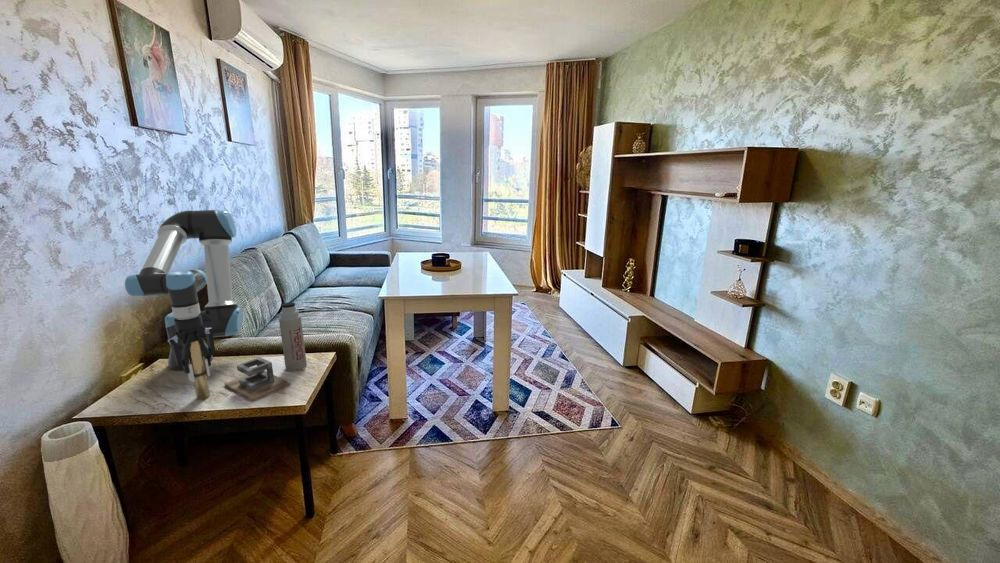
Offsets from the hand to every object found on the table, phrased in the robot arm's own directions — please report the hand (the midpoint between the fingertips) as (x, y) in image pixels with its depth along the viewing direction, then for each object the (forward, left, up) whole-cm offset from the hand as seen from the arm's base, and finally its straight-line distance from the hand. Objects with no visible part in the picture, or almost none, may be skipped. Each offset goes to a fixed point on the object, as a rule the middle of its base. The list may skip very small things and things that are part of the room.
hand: (199, 377), depth 145 cm
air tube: (0, 0, -8) cm, 8 cm away
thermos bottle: (+6, +32, -8) cm, 33 cm away
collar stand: (+8, +15, -8) cm, 19 cm away
